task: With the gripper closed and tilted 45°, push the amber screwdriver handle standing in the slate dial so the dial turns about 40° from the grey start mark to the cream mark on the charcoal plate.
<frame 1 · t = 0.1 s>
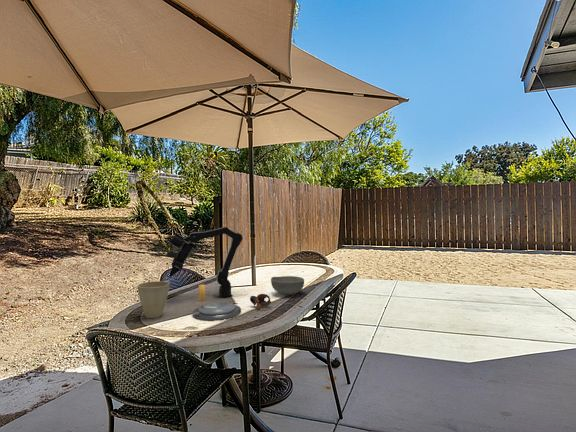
hand: (170, 275, 202), 15 cm above the table, tool tilted 35°, fingers open, 9 cm apart
dial: (216, 297, 178), point 8 cm above the table, hinge at 0.0°
bowl: (287, 294, 214), on the table
brown animal figurine: (260, 307, 187), on the table
plant pot: (154, 316, 175), on the table
dial plate: (217, 313, 178), on the table
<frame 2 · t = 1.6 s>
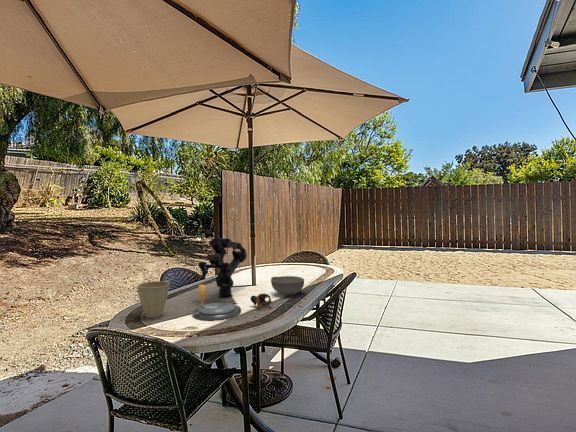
hand: (210, 279, 193), 14 cm above the table, tool tilted 45°, fingers open, 9 cm apart
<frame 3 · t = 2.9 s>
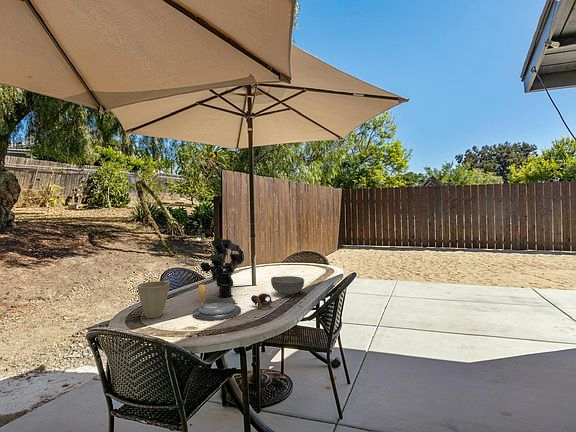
hand: (213, 279, 193), 14 cm above the table, tool tilted 45°, fingers closed
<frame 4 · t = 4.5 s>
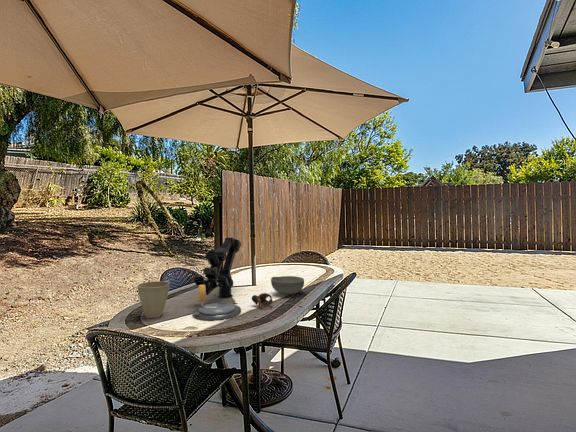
hand: (206, 294, 185), 8 cm above the table, tool tilted 45°, fingers closed
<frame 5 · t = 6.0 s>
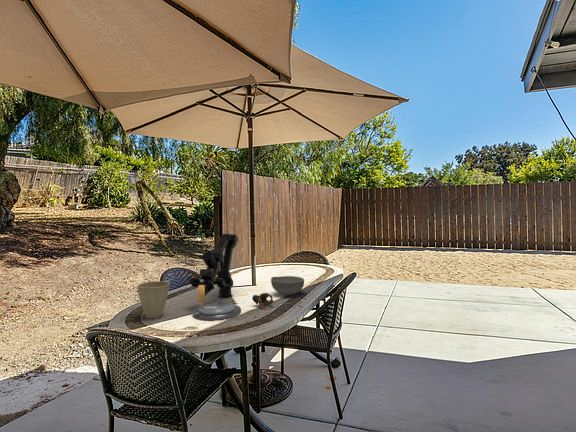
hand: (202, 296, 180), 8 cm above the table, tool tilted 45°, fingers closed, pressing on dial
dial: (216, 297, 178), point 8 cm above the table, hinge at 5.8°, touching gripper
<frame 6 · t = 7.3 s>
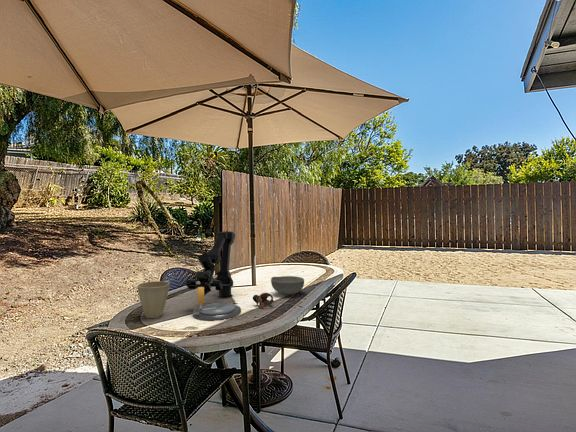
hand: (199, 299, 176), 8 cm above the table, tool tilted 45°, fingers closed
dial: (216, 297, 178), point 8 cm above the table, hinge at 36.4°, touching gripper
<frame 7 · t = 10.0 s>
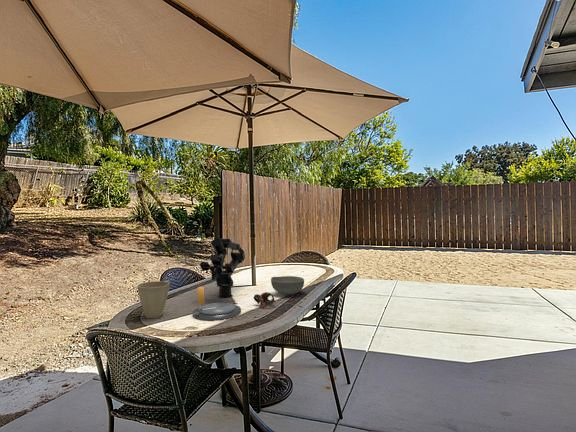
hand: (212, 280, 194), 13 cm above the table, tool tilted 45°, fingers closed
dial: (216, 297, 178), point 8 cm above the table, hinge at 36.4°
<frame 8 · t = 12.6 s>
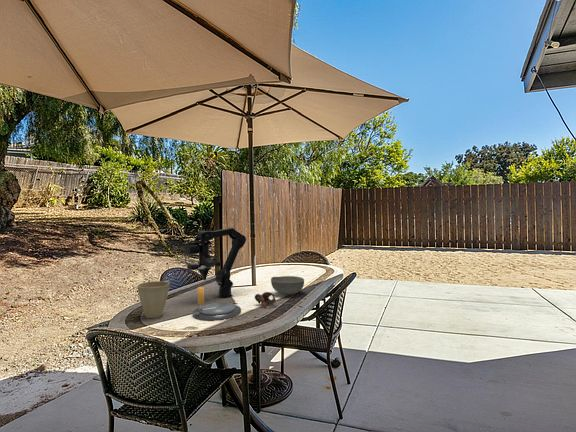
hand: (204, 280, 201), 12 cm above the table, tool pointing down, fingers closed
at the end: dial at +36° (first picture: +0°) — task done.
